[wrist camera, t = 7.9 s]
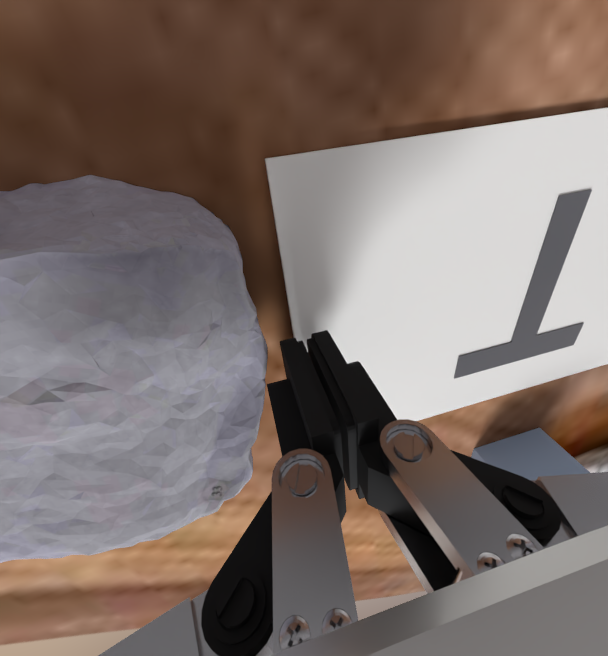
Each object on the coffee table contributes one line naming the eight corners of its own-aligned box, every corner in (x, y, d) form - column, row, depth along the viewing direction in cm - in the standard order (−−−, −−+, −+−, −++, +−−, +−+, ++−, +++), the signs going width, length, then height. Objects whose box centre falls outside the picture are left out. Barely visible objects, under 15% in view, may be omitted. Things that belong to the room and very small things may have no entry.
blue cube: (538, 426, 21) (619, 498, 16) (517, 468, 23) (582, 539, 19) (473, 447, 20) (540, 528, 16) (459, 488, 23) (514, 566, 19)
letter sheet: (839, 72, 11) (850, 71, 11) (656, 346, 19) (661, 348, 18) (264, 158, 8) (265, 159, 8) (311, 448, 15) (312, 452, 15)
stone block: (225, 168, 10) (-285, 168, 6) (281, 198, 6) (-883, 247, 2) (246, 415, 16) (9, 491, 13) (279, 499, 13) (-37, 640, 9)
